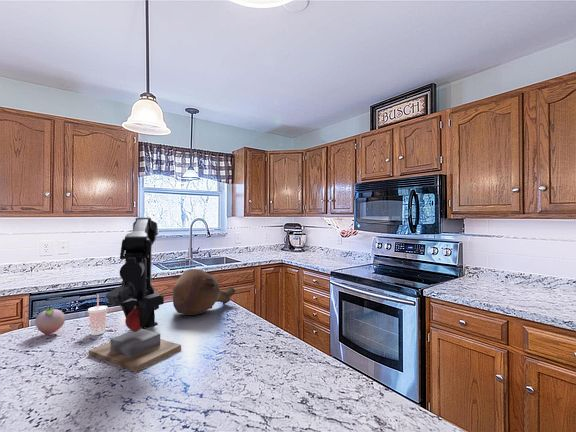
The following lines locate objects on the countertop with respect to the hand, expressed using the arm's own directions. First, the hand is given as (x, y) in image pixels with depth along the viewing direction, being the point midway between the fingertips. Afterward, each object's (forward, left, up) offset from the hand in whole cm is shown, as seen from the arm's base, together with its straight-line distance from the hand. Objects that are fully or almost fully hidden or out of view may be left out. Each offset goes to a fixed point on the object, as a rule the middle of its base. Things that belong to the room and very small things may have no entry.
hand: (136, 325), depth 94 cm
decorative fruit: (-40, -5, -9) cm, 41 cm away
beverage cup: (-27, +4, -9) cm, 29 cm away
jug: (-10, +41, -9) cm, 43 cm away
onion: (0, 0, -2) cm, 2 cm away
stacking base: (0, 0, -8) cm, 8 cm away
